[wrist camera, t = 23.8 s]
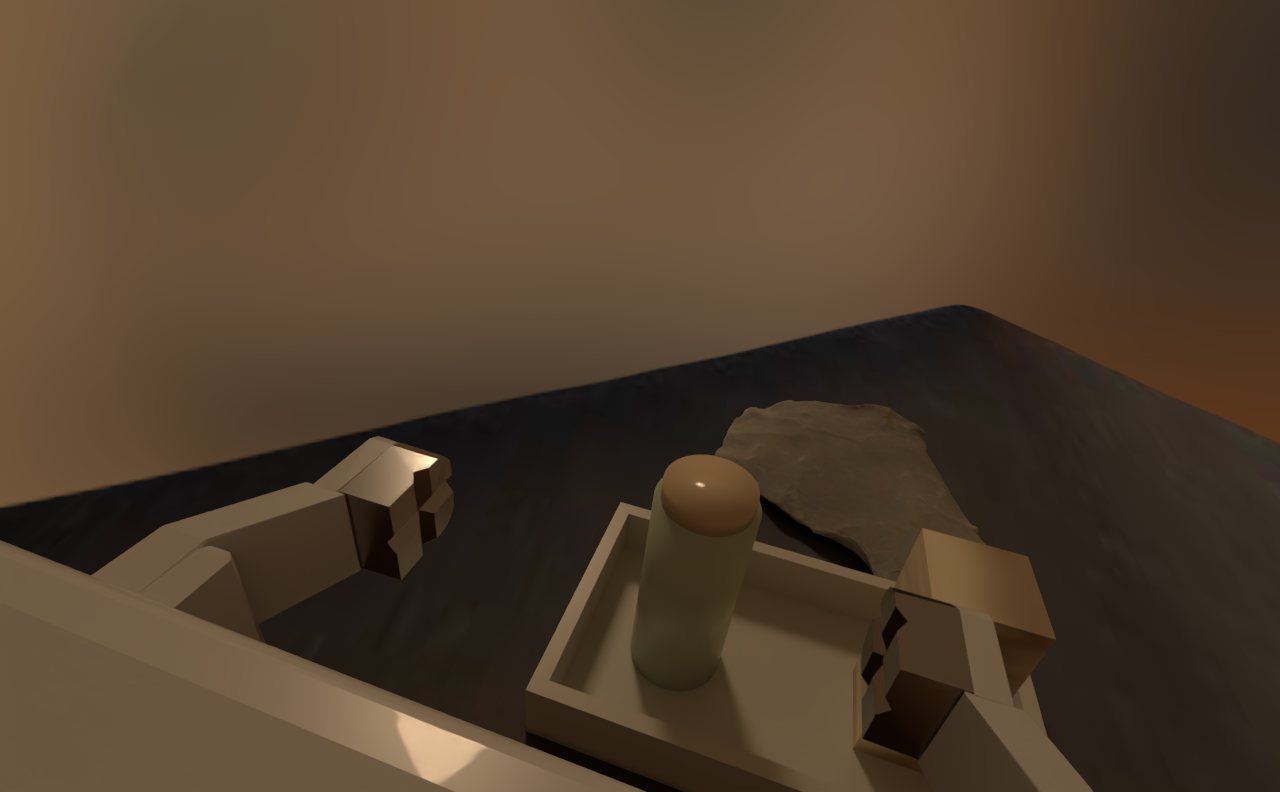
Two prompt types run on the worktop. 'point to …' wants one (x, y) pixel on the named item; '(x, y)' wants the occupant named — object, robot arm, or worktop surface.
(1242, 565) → the worktop surface
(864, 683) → the birch block
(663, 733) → the beige tray
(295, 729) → the robot arm
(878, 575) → the stone tool
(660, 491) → the sage jar
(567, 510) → the worktop surface
